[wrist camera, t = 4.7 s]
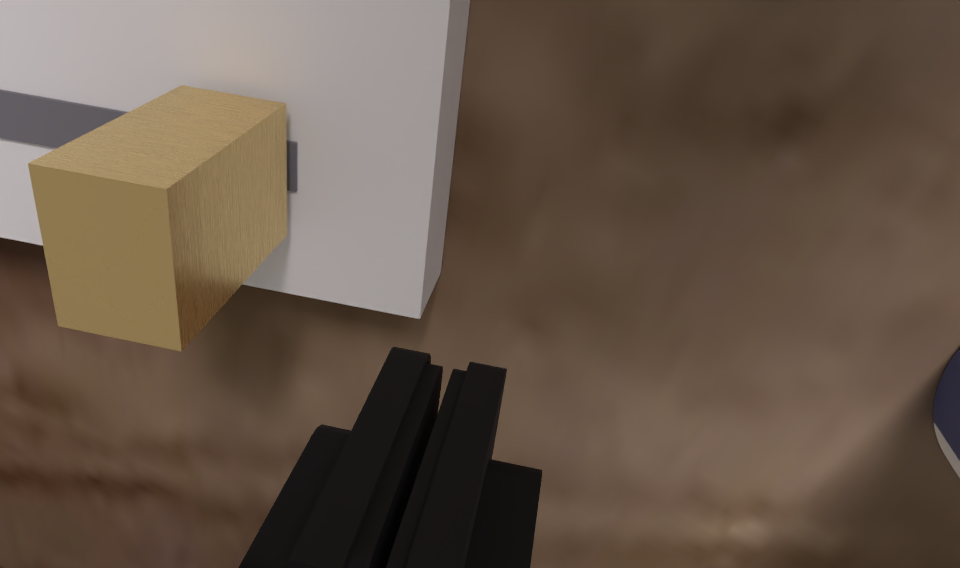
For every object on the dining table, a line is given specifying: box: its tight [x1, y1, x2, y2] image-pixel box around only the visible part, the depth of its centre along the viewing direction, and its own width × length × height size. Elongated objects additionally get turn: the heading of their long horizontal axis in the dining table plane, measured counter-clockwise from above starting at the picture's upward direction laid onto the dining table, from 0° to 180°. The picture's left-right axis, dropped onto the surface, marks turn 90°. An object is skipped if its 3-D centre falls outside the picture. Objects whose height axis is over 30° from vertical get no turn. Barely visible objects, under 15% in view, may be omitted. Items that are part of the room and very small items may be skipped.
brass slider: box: [28, 85, 287, 351], centre depth 15 cm, size 2×3×5 cm
